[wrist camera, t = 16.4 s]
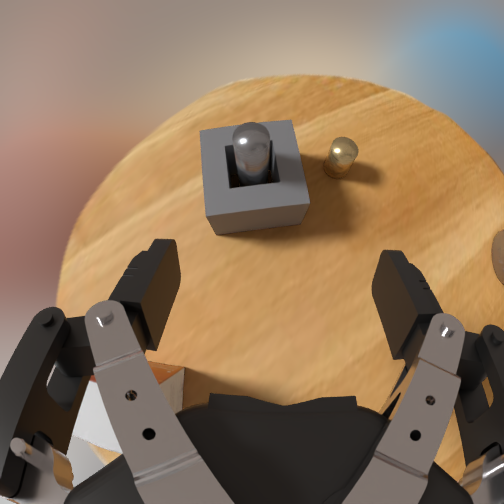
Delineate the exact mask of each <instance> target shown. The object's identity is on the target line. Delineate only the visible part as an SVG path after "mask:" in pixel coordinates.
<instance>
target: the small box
mask: <svg viewBox="0 0 504 504" xmlns="http://www.w3.org/2000/svg"><path fill="white" fill-rule="evenodd" d="M148 364H149V366H150V368H151V370H152V372H153V374H154V376H155V378H156V380H157V382H158V384H159V386H160V388H161V390H162V392H163V393H164V395H165V397H166V399H167V401H168V403H169V405H170V406H171V408H172V410H173V412H174V414H175V413H177V412H179V411H181V410H182V402H183V383H184V369H185V368H184V367H180V366H172V365H165V364H160V363H154V362H149V361H148ZM72 435H73V436H75V437H78V438H80V439H82V440H85V441H87V442H89V443H92V444H94V445H96V446H98V447H101V448H104V449H107V450H110V451H114V452H117V453H121V454H123V452H122V450H121V448H120V445H119V443H118V440H117V438H116V436H115V433H114V431H113V428H112V426H111V423H110V420H109V418H108V415H107V412H106V409H105V407H104V404H103V401H102V398H101V395H100V392H99V389H98V385H97V382H96V379H95V376H94V375H91V378H90V381H89V383H88V386H87V389H86V392H85V395H84V398H83V401H82V404H81V407H80V410H79V413H78V416H77V419H76V423H75V426H74V429H73V433H72Z"/></svg>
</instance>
